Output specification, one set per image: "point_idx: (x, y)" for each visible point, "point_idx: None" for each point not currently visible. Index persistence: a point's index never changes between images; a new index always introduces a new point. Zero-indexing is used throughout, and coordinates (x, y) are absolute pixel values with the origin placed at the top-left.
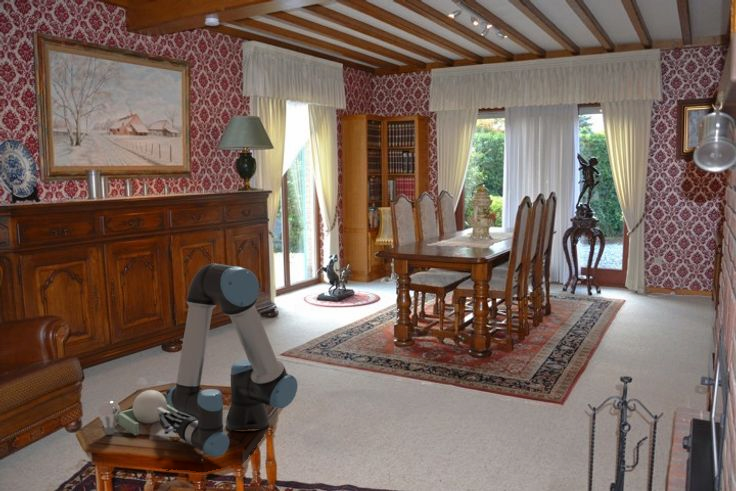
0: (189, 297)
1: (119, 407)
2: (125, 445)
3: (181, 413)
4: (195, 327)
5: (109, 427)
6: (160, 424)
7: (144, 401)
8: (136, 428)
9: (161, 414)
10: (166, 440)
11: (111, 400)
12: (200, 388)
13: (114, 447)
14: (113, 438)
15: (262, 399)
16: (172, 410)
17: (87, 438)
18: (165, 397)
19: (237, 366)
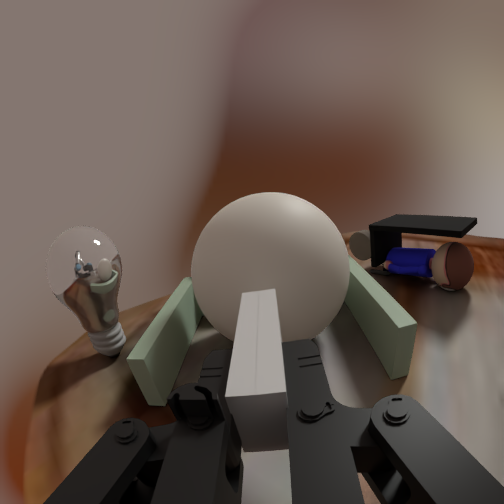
0: None
1: (96, 258)
2: (56, 442)
3: (429, 477)
4: None
5: (87, 331)
6: (134, 487)
7: (208, 240)
8: (142, 379)
9: (210, 373)
10: None
11: (87, 226)
12: (475, 220)
13: (35, 423)
14: (96, 376)
15: None
16: (375, 304)
17: (79, 341)
18: (365, 245)
19: None
